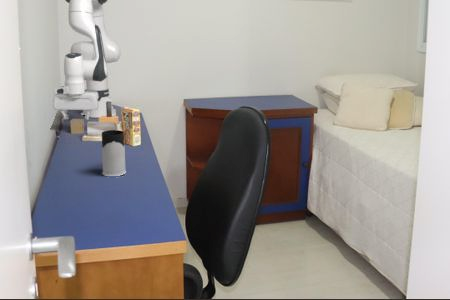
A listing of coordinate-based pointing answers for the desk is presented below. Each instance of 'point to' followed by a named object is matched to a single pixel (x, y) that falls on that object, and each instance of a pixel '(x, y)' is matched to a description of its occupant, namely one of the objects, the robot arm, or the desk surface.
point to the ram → (109, 115)
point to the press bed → (99, 130)
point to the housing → (77, 126)
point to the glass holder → (113, 153)
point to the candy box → (131, 126)
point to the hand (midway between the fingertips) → (76, 119)
